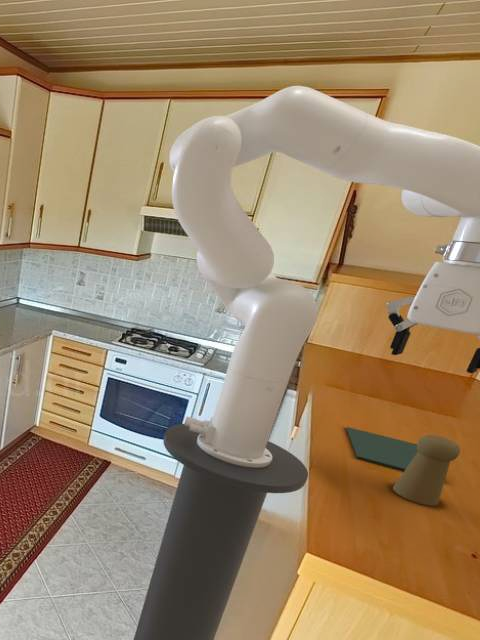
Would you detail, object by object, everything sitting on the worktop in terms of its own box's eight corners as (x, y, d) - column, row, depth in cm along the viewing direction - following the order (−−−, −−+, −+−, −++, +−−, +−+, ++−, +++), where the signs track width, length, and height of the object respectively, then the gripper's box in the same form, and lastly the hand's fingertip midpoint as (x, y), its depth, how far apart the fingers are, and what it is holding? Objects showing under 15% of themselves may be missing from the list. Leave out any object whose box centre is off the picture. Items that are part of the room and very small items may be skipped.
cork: (405, 501, 82) (433, 442, 78) (385, 483, 87) (410, 427, 84) (446, 509, 81) (477, 450, 77) (424, 490, 86) (451, 434, 82)
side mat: (356, 458, 96) (357, 456, 96) (346, 428, 111) (347, 426, 111) (442, 481, 90) (443, 479, 90) (418, 447, 105) (419, 444, 105)
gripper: (401, 248, 79) (362, 349, 85) (558, 264, 66) (499, 383, 72) (416, 250, 83) (377, 346, 89) (567, 265, 70) (510, 377, 76)
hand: (432, 362), depth 80 cm, fingers open, 9 cm apart
